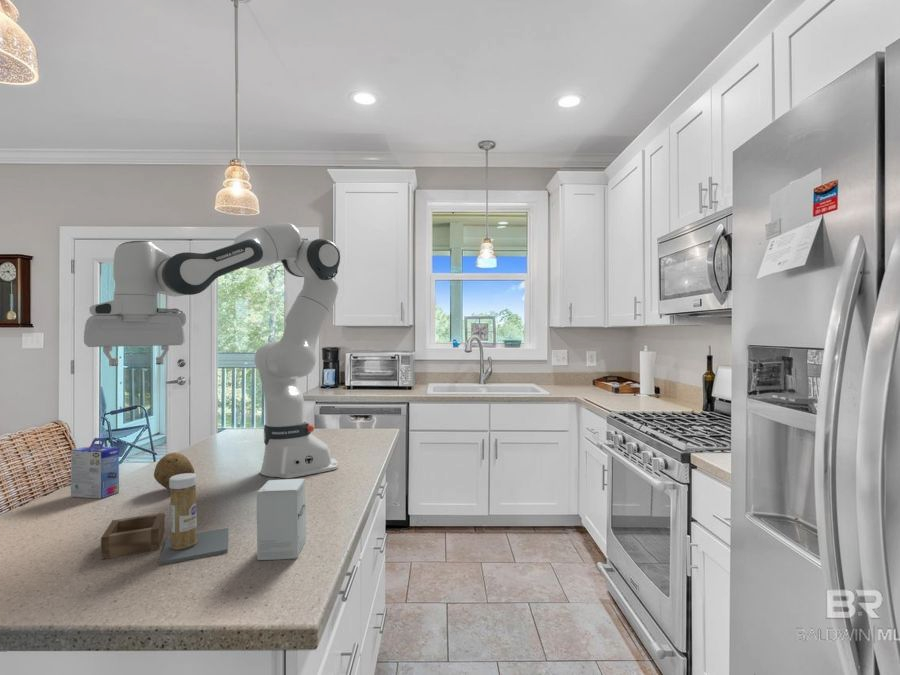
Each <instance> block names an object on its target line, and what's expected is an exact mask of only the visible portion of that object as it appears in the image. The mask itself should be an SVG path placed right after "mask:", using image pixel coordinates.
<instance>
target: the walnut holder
mask: <svg viewBox="0 0 900 675" xmlns="http://www.w3.org/2000/svg"><path fill="white" fill-rule="evenodd" d="M165 516H166V515H165V512H159V513H153V514H152V513H151V514H146V515H139V516H132V517H125V518H120V519H113V520H112V521H111V522H110V523H109V525H108V527H107V528H106V529H105V530H104V533H103V534H102V536H101V537H100V542H101V543H100V547H101V548H100V551H101V552H100V553H101V560H104V558H106V559H111V557H112V558H116V557H121V556H129V555H134V554H138V553H139V554H140V553H144V552H150V551H156V550H160V546H161V545H162V544H161V543H162V540H163V538H164V536H165V532H166V526H165V525H166V522H165Z"/></svg>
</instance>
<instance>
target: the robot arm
mask: <svg viewBox="0 0 900 675" xmlns="http://www.w3.org/2000/svg"><path fill="white" fill-rule="evenodd" d="M279 262H281V263H282V265H283V268H284V269H285V270H286V271H287V273H289V274H290V275H292V276H294V277H297V278H303V285H302V289H301V290H300V292H299V293H298V295H297V296H296V299H295V300H294V302H293V304H292V305H291V307H290V309H289V311H288V313H287V314H286V317H285V318H284V319H285V320H284V321H285V327H284V331H283V333H282V336H281V338H280V340H279V341H270V342H268V343H265V344H264V345H261V346H260V347H259V348H257V350H256V353H255V355H254V365H255V367H256V368H257V370H258V373H259V376H260V377H259V378H260V383H261V386H262V387H261V388H262V391H263V396H264V413H265V417H264V418H265V424H264V426H263V443H264V452H263V453H264V454H263V459H262V460H263V461H262V463H261V464H262V465H261V469H260V472H259V473H260V474H261V475H262V476H266V477H271V478H273V477H274V478H275V477H277V478H282V479H294V478H298V477H303V476H308V475H314V474H319V473H324V472H331V471H334V470H336V469H338V468H339V461H338V460H337V459H336V458H334V457H332V456H331V451H330V448H329V446H328V445H327V444H326V443H325V442H323V440H321V439H319V438H318V437H317V436H315V435H313V434H312V433H313V432H314V431H315V426H314V425H313V424H310V423H309V422H306V421H305V399H304V395H303V392H302V391H301V389H300V387H299V384H298V379H301V378H303V377H306V376H308V375H309V374H310V373H312V371H313V370H314V369H315V366H316V362H317V360H316V355H315V352H316V351H315V350H316V346H317V341H318V339H319V336H320V332H321V330H322V329H323V327H324V324H325V323H326V321H327V319H328V317H329V315H330V313H331V311H332V309H333V307H334V305H335V302H336V299H337V297H338V296H337V295H338V292H339V285H338V282H337V280H335V277H336V276H337V275H338V271H339V267H340V263H341V252H340V250H339V247H338V246H337V244H335V242H333V241H332V240H329V239H325V238H316V239H310V240H305V239H303V238H302V236H301V233H300V231H299V229H298V228H297V227H296V226H295V225H294V224H292V223H290V222H275V223H274V222H273V223H269V224H265V225H260V226H258V227H254V228H252V229H250V230H247V231H245V232H243V233H241V234H240V235H238V236H236V237H235V239H234V242H233V243H232V244H230V245H227V246H225V247H222V248H219V249H215V250H213V251H210V252H205V253H201V252H200V253H198V252H181V253H180V252H179V253H176V254H174V255H171V254H169V253H167V252H165V251H164V250H162V249H160V248H159V247H158V246H156V245H155V244H154V243H153V242H151V241H149V240H132V241H125V242H123V243H121V244H119V245H118V246H117V247H116V248H115V251H114V255H113V268H112V269H113V272H112V273H113V275H112V277H113V280H114V283H115V286H114V287H115V288H114V292H113V300H112V299H111V300H109V301H105V302H101V303H97V304H93V305H91V306H90V307H89V313H90V314H91V316H89V317H88V318H87V320H85V321H86V322H85V324H84V332H83V343H84V345H85V346H86V347H87V348H102V352H103V354H104V355H105V356H106V358H107V359H108V365H109V367H118V366H119V358H115V357H114V356H113V354H112V353H111V352H113V347H114V348H115V347H153V346H154V347H155V346H156V347H157V346H160V347H161V348H160V350H161V351H162V353H161V355H160V356H156V357H155V361H156V362H155V364H156V365H164V364H165V357H166V355H167V354H168V352H169V350H170V346H182V345H183V344H184V343H186V342H185V341H186V338H185V329H184V326H185V325H186V321H187V320H186V319H187V316H186V314H185V312H184V311H183V310H180V309H179V308H164V307H158V306H159V305H158V303H159V302H158V295H159V294H160V295H161V294H162V295H165V296H168V297H173V298H175V297H181V296H192V295H193V296H194V295H197V294H200V293H202V292H204V291H205V290H206V289H208V288H209V287H210V286H211V284H212V283H213V282H215V280H216V279H218V278H220V277H222V276H224V275H227V274H229V273H231V272H232V273H233V272H235V271H237V270H240V269H243V268H247V269H249V270H254V269H260V268H264V267H268V266H271V265H273V264H276V263H279Z"/></svg>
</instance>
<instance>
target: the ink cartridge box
mask: <svg viewBox="0 0 900 675" xmlns="http://www.w3.org/2000/svg"><path fill="white" fill-rule="evenodd" d="M96 442H101V443H96ZM105 442H106V437H105V438H104V437H103V438H102V437H94V439H93V440H92V442H91V444H90V445H89V446H84V447H79V448H75V449H71V450H70V497H71V498H85V499H87V498H88V499H103V498H104V499H105V498H106V497H110V496H113V495H116V493H117V494H119V492H120V469H119V468H120V465H119V464H120V463H119V462H120V458H119V457H120V454H119V452H120V451H119V450H120V447H118V446H104V444H105Z"/></svg>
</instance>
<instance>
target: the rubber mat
mask: <svg viewBox="0 0 900 675" xmlns="http://www.w3.org/2000/svg"><path fill="white" fill-rule="evenodd" d="M228 537H229V528H228V527H224V528H219V529H212V530H207V531H201V532H197V543H196V544H195V545H194V546H192V547H190V548H186V549H183V550H174V549H172V548H171V536H170V537H167V538H166V540H165V544H164V547H163V550H162V552H161V556H160V558H159V561H158V563H159V564H158V566H163V565H169V564H174V563H178V562H184V561H188V560H195V559H199V558H205V557H209V556H210V557H211V556H215V555H221V554H222V555H223V554H226V553H228V544H229V542H228V541H229V540H228V539H229V538H228Z"/></svg>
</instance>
